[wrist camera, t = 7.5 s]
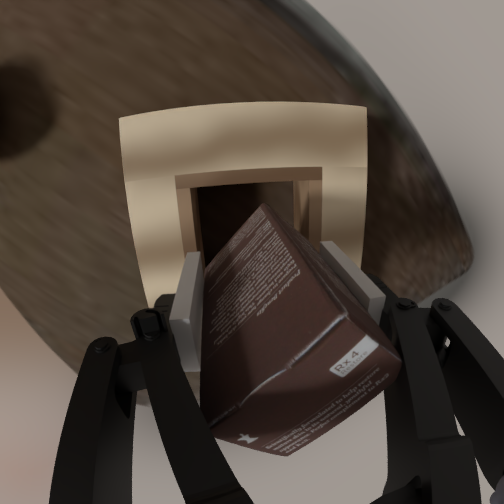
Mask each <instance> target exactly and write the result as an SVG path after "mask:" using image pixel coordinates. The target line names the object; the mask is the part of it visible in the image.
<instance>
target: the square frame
mask: <svg viewBox="0 0 504 504" xmlns="http://www.w3.org/2000/svg"><path fill="white" fill-rule="evenodd" d="M119 127H120V141H121V152H122V163H123V172H124V180H125V188H126V195H127V202H128V209H129V215H130V221H131V227H132V233H133V238H134V244H135V249H136V254H137V259H138V263H139V268H140V273H141V277H142V281H143V286H144V290H145V294H146V298H147V302H148V306H149V308H153V307H154V304H155V301H156V300H157V299H158V298H159V297H160V296H161V295H162V294H174V293H176V291H177V287H178V283H179V280H180V276H181V272H182V269H183V265H184V262H185V258H186V255H187V252H199V251H200V253H201V261H202V269H203V277H204V275H205V268H206V267H205V259H204V250H203V242H202V233H201V223H200V214H199V204H198V193H197V187H205V186H217V185H229V184H243V183H259V182H279V181H293V196H294V228H295V229H296V230H297V231H298V232H299V233H300V234H301V235H303V236H304V237H305V238H306V239H307V240H308V241H309V242H310V243H311V244H312V245H313V247H314V248H315V249H316V250H317V252H318V253H319V254H320V242H323V241H333V242H334V243H335V244H336V245H337V246H338V247H339V248H340V249H341V250H342V251H343V252H344V253H345V254H346V255H347V256H348V257H349V258H350V259H351V260H352V261H353V262H354V263H355V264H356V265H357V266H358V267H359V268H360V269H361V260H362V250H363V240H364V227H365V213H366V194H367V111H366V107H361V106H352V105H341V104H328V103H310V102H242V103H225V104H211V105H201V106H191V107H183V108H175V109H168V110H161V111H154V112H148V113H143V114H137V115H132V116H127V117H122V118H119Z"/></svg>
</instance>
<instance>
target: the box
mask: <svg viewBox="0 0 504 504" xmlns="http://www.w3.org/2000/svg"><path fill="white" fill-rule="evenodd" d="M401 366H402V359H401V356H400V354H399V353H398V351H397V349H396V348H395V346H394V345H393V344H392V342H391V341H390V340H389V339H388V337H387V336H386V334H385V333H384V332H383V331H382V330H381V328H380V327H379V325H378V324H377V323H376V322H375V320H374V319H373V318H372V317H371V315H370V314H369V313H368V312H367V310H366V309H365V308H364V306H363V305H362V304H361V303H360V302H359V300H358V299H357V298H356V297H355V296H354V295H353V293H352V292H351V291H350V290H349V289H348V287H347V286H346V285H345V284H344V282H343V281H342V280H341V279H340V277H339V276H338V275H337V274H336V273H335V272H334V271H333V269H332V268H331V267H330V266H329V265H328V263H327V262H326V261H325V260H324V259H323V258H322V257H321V255H320V254H319V253H318V252H317V250H316V249H315V248H314V247H313V245H312V244H311V243H310V242H309V241H308V240H307V239H306V238H305V237H304V236H303V235H301V234H300V233H299V232H298V231H297V230H296V229H295V228H294V227H292V226H291V225H290V224H289V223H288V222H287V221H286V220H284V219H283V218H282V217H281V216H280V215H279V214H278V213H276V212H275V211H274V210H273V209H272V208H271V207H270V206H269V205H267V204H265V203H262V204H261V205H260V206H259V207H258V208H257V210H256V211H255V212H254V213H253V214H252V215H251V216H250V217H249V218H248V219H247V221H246V222H245V223H244V224H243V225H242V226H241V228H240V229H239V230H238V231H237V232H236V233H235V234H234V235H233V236H232V238H231V239H230V240H229V241H228V242H227V243H226V245H225V246H224V247H223V248H222V249H221V250H220V252H219V253H218V254H217V255H216V256H215V257H214V259H213V260H212V261H211V262H210V264H209V265H208V266H207V267H206V268H205V275H204V291H203V312H202V333H201V364H200V409H201V411H202V414H203V416H204V418H205V420H206V422H207V424H208V426H209V428H210V430H211V432H212V434H213V436H214V438H217V439H221V440H224V441H227V442H230V443H234V444H237V445H240V446H244V447H247V448H251V449H254V450H259V451H262V452H266V453H270V454H275V455H280V456H289V455H291V454H292V453H294V452H296V451H297V450H299V449H301V448H302V447H304V446H306V445H307V444H309V443H310V442H312V441H314V440H315V439H317V438H318V437H320V436H321V435H323V434H324V433H326V432H328V431H329V430H330V429H332V428H333V427H335V426H336V425H338V424H339V423H341V422H342V421H344V420H345V419H347V418H348V417H349V416H350V415H352V414H354V413H355V412H356V411H358V410H359V409H360V408H362V407H363V406H364V405H365V404H367V403H368V402H369V401H371V400H372V399H373V398H375V397H376V396H377V395H378V394H379V393H381V391H383V390H384V389H386V388H387V387H388V386H389V385H390V384H392V383H393V382H394V381H395V380H396V378H397V376H398V373H399V371H400V369H401Z"/></svg>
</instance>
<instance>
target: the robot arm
mask: <svg viewBox="0 0 504 504" xmlns="http://www.w3.org/2000/svg"><path fill="white" fill-rule="evenodd" d="M320 255H321V257H322V258H323V259H324V260H325V261H326V262H327V263H328V265H329V266H330V267H331V268H332V269H333V271H334V272H335V273H336V274H337V275H338V276H339V277H340V279H341V280H342V281H343V282H344V284H345V285H346V286H347V287H348V289H349V290H350V291H351V292H352V293H353V295H354V296H355V297H356V298H357V299H358V300H359V302H360V303H361V304H362V305H363V306H364V308H365V309H366V310H367V312H368V313H369V314H370V315H371V317H372V318H373V319H374V320H375V322H376V323H377V324H378V325H379V327H380V328H381V330H382V331H383V332H384V333H385V334H386V336H387V337H388V339H389V340H390V341H391V342H392V344H393V345H394V346H395V348H396V349H397V351H398V353H399V354H400V356H401V359H402V366H401V369H400V371H399V373H398V376H397V378H396V380H395V381H394V382H393V383H392V384H390V385H389V386H388V387H387V388H386V389H384V399H385V411H386V426H387V448H388V449H387V450H388V476H387V482H386V485H385V487H384V490H383V495H382V496H381V497H380V498H378V499H376V500H375V501H373V502H371V503H370V504H481V493H480V485H479V478H478V471H477V465H476V460H475V457H476V459H477V462H478V464H479V466H480V468H481V470H482V472H483V474H484V476H485V478H486V479H487V481H488V483H489V484H490V485H491V487H492V488H493V489H494V490H495V492H494V493H493V494H492V495H491V497H490V503H491V504H504V359H503V358H502V356H501V355H500V354H499V353H498V351H497V350H496V349H495V348H494V347H493V345H492V344H491V343H490V342H489V341H488V339H487V338H486V337H485V336H484V335H483V334H482V333H481V332H480V330H479V329H478V328H477V327H476V326H475V325H474V324H473V322H471V320H470V319H469V318H468V317H467V316H466V315H465V314H464V313H463V312H462V311H461V310H460V308H459V307H458V306H457V305H456V304H455V303H453V302H452V301H450V300H448V299H445V298H438V299H435V300H434V301H433V302H432V306H431V308H418V306H417V304H416V303H415V302H414V301H412V300H410V299H407V298H398V297H397V296H396V295H395V294H394V293H393V292H392V291H391V290H390V289H389V288H388V287H387V286H386V285H385V284H383V282H382V281H381V280H380V279H379V278H378V277H376V276H374V275H372V274H365V273H364V272H363V271H362V270H361V269H360V268H359V267H358V266H357V265H356V264H355V263H354V262H353V261H352V260H351V259H350V258H349V257H348V256H347V255H346V254H345V253H344V252H343V251H342V250H341V249H340V248H339V247H338V246H337V245H336V244H335V243H334V242H333V241H323V242H320ZM203 291H204V277H203V269H202V261H201V253H200V251H199V252H187V255H186V258H185V262H184V265H183V269H182V272H181V276H180V280H179V283H178V287H177V291H176V293H174V294H162V295H161V296H160V297H159V298H158V299H157V300H156V301H155V304H154V307H153V308H147V309H143V310H140V311H138V312H136V313H135V314H134V315H133V316H132V317H131V320H130V322H131V325H132V328H133V332H134V335H135V337H136V340H135V341H132V342H129V343H125V344H120V345H118V343H117V341H116V340H115V339H114V338H112V337H101V338H98V339H96V340H94V341H93V342H92V343H90V345H89V346H88V348H87V351H86V354H85V356H84V359H83V362H82V365H81V368H80V371H79V374H78V377H77V380H76V383H75V386H74V390H73V393H72V396H71V400H70V403H69V407H68V410H67V414H66V417H65V421H64V425H63V429H62V433H61V437H60V442H59V447H58V451H57V456H56V461H55V466H54V472H53V477H52V484H51V491H50V498H49V504H132V454H133V434H134V420H135V406H136V397H137V391H139V390H143V389H147V391H148V395H149V398H150V402H151V406H152V409H153V412H154V416H155V420H156V423H157V426H158V429H159V433H160V436H161V439H162V442H163V445H164V448H165V451H166V454H167V456H168V459H169V462H170V465H171V467H172V470H173V473H174V475H175V478H176V480H177V483H178V485H179V488H180V490H181V493H182V495H183V498H184V500H185V503H186V504H254V503H253V501H252V500H251V498H250V497H249V495H248V494H247V492H246V491H245V490H244V488H242V487H241V485H240V484H239V482H238V481H237V479H236V477H235V476H234V474H233V472H232V470H231V468H230V466H229V465H228V463H227V461H226V459H225V457H224V455H223V454H222V452H221V450H220V448H219V446H218V444H217V442H216V440H215V438H214V436H213V434H212V432H211V430H210V428H209V426H208V424H207V422H206V420H205V418H204V416H203V414H202V411H201V409H200V407H199V405H198V403H197V400H196V398H195V396H194V394H193V392H192V389H191V387H190V385H189V382H188V380H187V378H186V375H185V373H184V372H190V371H200V364H201V333H202V312H203ZM447 337H448V339H449V340H450V344H449V347H447V346H446V345H445V342H446V339H447ZM454 415H455V416H456V418H457V420H458V422H459V424H460V426H461V428H462V430H463V432H464V434H465V436H461V435H460V434H459V432H458V429H457V425H456V421H455V416H454Z"/></svg>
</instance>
